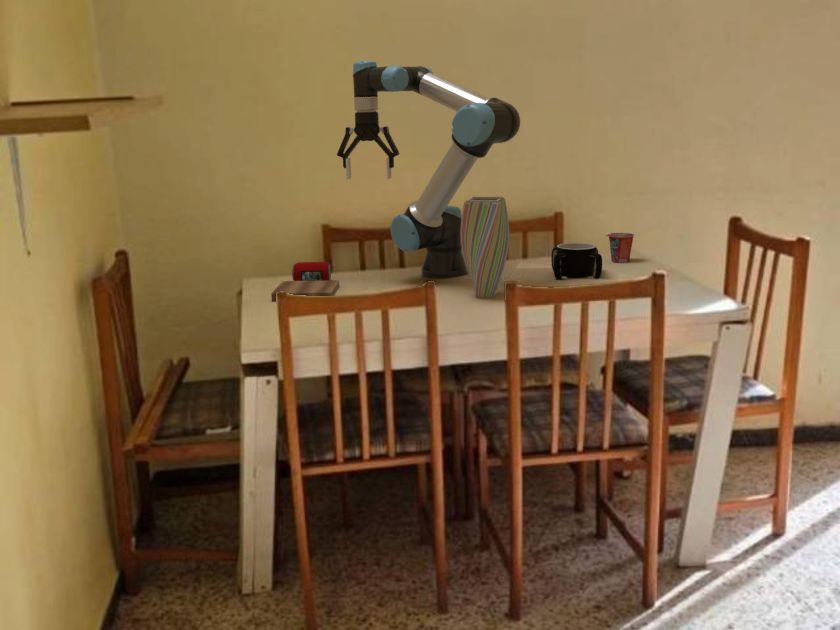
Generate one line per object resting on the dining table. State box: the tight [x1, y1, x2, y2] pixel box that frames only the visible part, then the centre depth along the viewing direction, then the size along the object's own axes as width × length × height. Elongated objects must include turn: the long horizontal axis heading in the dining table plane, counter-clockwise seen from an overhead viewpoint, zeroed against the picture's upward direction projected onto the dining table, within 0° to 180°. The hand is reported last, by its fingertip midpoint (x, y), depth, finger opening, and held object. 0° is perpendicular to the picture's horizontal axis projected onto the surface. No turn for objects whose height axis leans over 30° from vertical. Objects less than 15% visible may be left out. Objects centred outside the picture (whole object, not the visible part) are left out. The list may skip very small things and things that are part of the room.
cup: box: [605, 232, 635, 264], centre depth 298 cm, size 9×8×12 cm
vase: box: [460, 196, 510, 299], centre depth 254 cm, size 14×14×30 cm
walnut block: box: [270, 279, 340, 303], centre depth 274 cm, size 18×18×3 cm
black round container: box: [550, 242, 603, 281], centre depth 279 cm, size 16×16×12 cm
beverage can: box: [291, 261, 332, 281], centre depth 291 cm, size 7×7×12 cm
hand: (368, 178), depth 290 cm, fingers open, 13 cm apart
